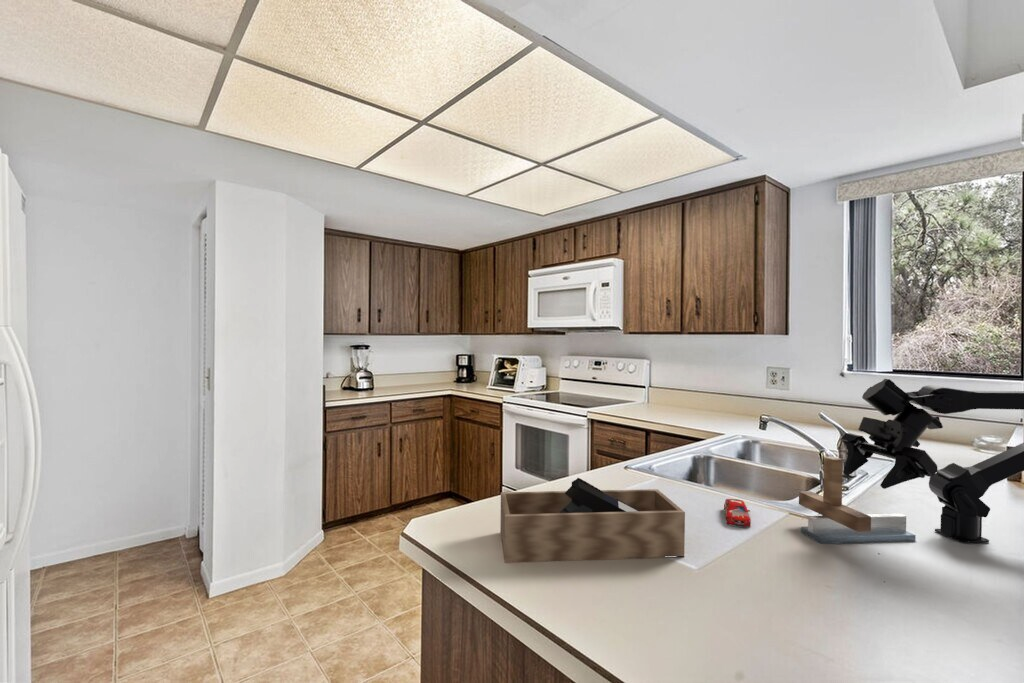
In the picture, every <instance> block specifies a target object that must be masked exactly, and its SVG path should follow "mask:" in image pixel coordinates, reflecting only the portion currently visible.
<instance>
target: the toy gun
mask: <svg viewBox="0 0 1024 683" xmlns="http://www.w3.org/2000/svg"><path fill="white" fill-rule="evenodd" d="M565 491H566V492H565V494H566V495H567V496H569V497H570V498H571V499H572V501H571V502H570V503H569V504H568V505H567V506H566V507H565V508H564V509H563V510H562V511H561V512H560V513H591V512H633V511H639V510H637V509H635V508H634V507H632V506H630V505H628V504H626V503H624V502H622V501H620V500H618V499H615V498H613V497H611V496H609V495H607V494H605V493H603V491H601V489H599V488H598V487H597V486H594V485H593V484H591V483H589V482H588V481H586V480H583V479H582V478H579V477H577V478H576V479H574V480H573V481H571V486H570V487H569V488H568V489H567V490H565Z"/></svg>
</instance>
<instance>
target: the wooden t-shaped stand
mask: <svg viewBox="0 0 1024 683" xmlns="http://www.w3.org/2000/svg"><path fill="white" fill-rule="evenodd" d="M843 462H844V460H843V458H840V457H837V456H824V457H823V491H822V492H823V494H822V495H820V494H818V493H816V492H813V491H812V490H806V491H805V490H804V491H803V490H802V491H798V505H799V506H802V507H804V508H806V509H808V510H811V511H812V512H815V513H817V514H819V515H820V516H825V517H827V518H829V519H831V520H833V521H836V522H838V523H840V524H842V525H844V526H846V527H848V528H850V529H853V530H855V531H857V532H867V531H871V516H868V515H866V513H863V512H862V511H859V510H857V509H854V508H851V507H849V506H846V505H844V504H843V469H844V468H843V465H844V464H843Z"/></svg>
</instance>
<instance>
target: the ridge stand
mask: <svg viewBox="0 0 1024 683" xmlns="http://www.w3.org/2000/svg"><path fill="white" fill-rule="evenodd" d="M865 514H866V513H865ZM866 515H868V516H871V531H867V532H857V531H855V530H853V529H850V528H848V527H846V526H844V525H842V524H840V523H838V522H836V521H833V520H831V519H829V518H827V517H825V516H823V515H808V518H807V520H808V521H807V522H808V523H807V526H804V525H803V526H800V532H801V533H802V534H804V535H805V536H807V537H808V538H810V539H811V540H814V541H815V542H817V543H819V544H844V543H845V544H847V543H854V544H855V543H877V542H878V543H879V542H880V543H881V542H912V541H914V542H915V541H916V534H914V533H911V532H909V531H907V515H906V514H905V515H904V514H902V513H877V514H875V513H873V514H866Z"/></svg>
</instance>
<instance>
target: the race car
mask: <svg viewBox="0 0 1024 683" xmlns="http://www.w3.org/2000/svg"><path fill="white" fill-rule="evenodd" d="M723 505H724V506H723V511H724V510H725V511H724V517H725V521H726V524H727V525H730V526H734V527H740V528H751V527H752V526H751V524H752V520H751V516H750V513H749V512H751V510H750V509H748V508H747V505H746V503H745V501H743V499H742V500H741V499H738V498H737V499H736V498H726V499H725V501H724V504H723Z"/></svg>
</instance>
